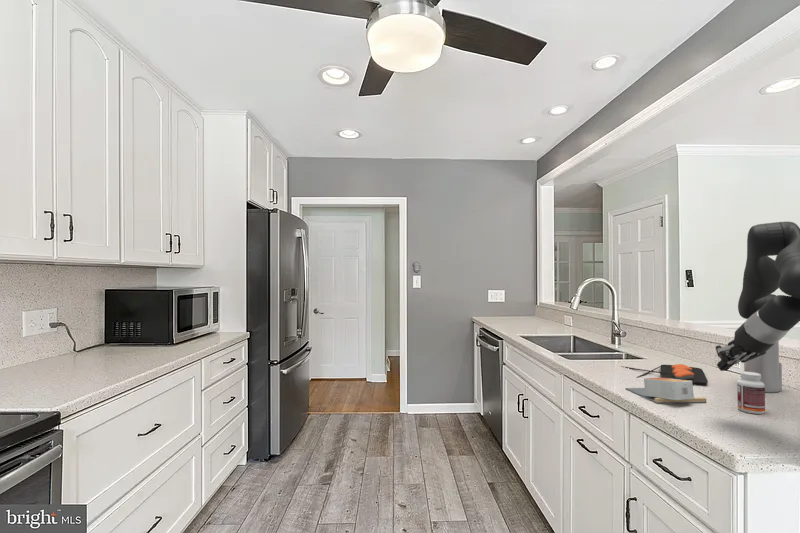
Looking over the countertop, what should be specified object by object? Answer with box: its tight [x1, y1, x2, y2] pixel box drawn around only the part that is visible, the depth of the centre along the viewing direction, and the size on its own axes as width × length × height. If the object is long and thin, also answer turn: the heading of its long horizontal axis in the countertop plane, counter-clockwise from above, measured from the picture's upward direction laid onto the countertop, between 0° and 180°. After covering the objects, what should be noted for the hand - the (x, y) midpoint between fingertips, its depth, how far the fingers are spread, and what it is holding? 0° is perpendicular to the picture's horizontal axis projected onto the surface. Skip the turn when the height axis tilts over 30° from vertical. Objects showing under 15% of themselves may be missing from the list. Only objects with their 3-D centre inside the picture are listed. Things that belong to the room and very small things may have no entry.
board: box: [625, 387, 707, 405], centre depth 136 cm, size 16×16×1 cm
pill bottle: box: [736, 371, 766, 415], centre depth 121 cm, size 6×6×11 cm
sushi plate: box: [620, 363, 709, 385], centre depth 167 cm, size 29×30×4 cm
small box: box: [643, 377, 695, 400], centre depth 130 cm, size 8×6×10 cm
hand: (721, 367), depth 115 cm, fingers closed
